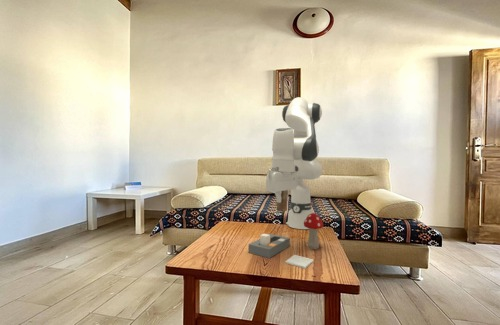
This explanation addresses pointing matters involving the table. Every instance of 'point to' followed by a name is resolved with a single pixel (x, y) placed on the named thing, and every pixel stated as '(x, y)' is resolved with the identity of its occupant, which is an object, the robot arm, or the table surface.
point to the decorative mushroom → (313, 230)
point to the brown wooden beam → (282, 205)
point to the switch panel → (269, 246)
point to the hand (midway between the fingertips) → (282, 201)
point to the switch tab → (264, 239)
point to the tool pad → (299, 261)
